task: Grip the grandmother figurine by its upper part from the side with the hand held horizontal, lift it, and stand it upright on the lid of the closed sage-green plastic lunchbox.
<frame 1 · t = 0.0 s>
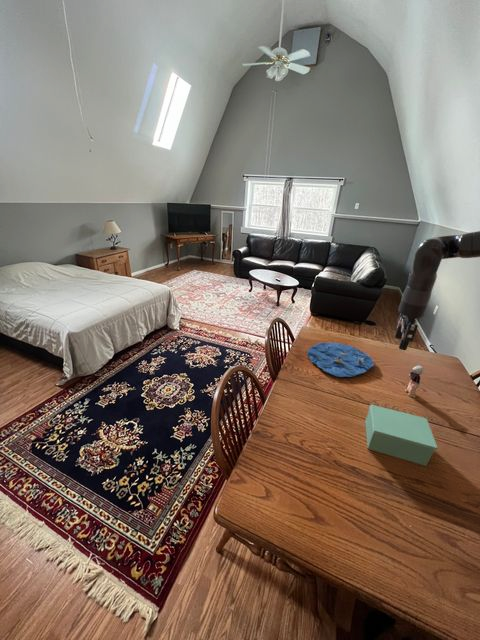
hand: (399, 343, 95), 23 cm above the table, tool pointing down, fingers open, 8 cm apart
lunchbox: (393, 441, 84), on the table
blue sea diorama: (338, 360, 125), on the table
grandmother figurine: (409, 393, 106), on the table
lunchbox lid: (400, 425, 81), point 7 cm above the table, hinge at 0.0°
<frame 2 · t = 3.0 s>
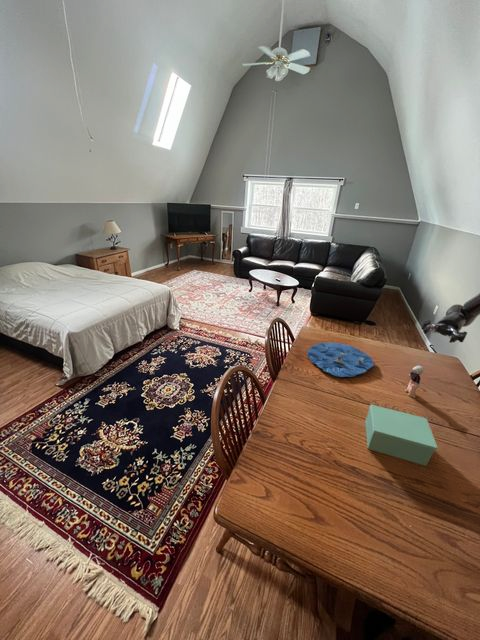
hand: (438, 335, 103), 22 cm above the table, tool horizontal, fingers open, 8 cm apart
nothing on the table moved.
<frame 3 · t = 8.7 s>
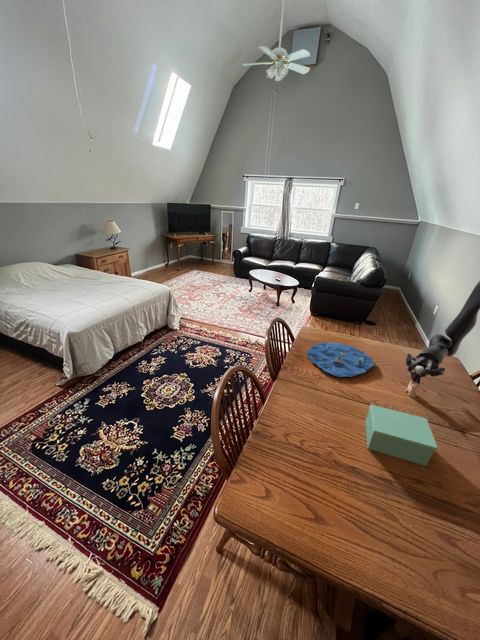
hand: (415, 372, 99), 11 cm above the table, tool horizontal, fingers closed on grandmother figurine, 3 cm apart
grandmother figurine: (409, 393, 106), on the table, touching gripper
everything else where it was.
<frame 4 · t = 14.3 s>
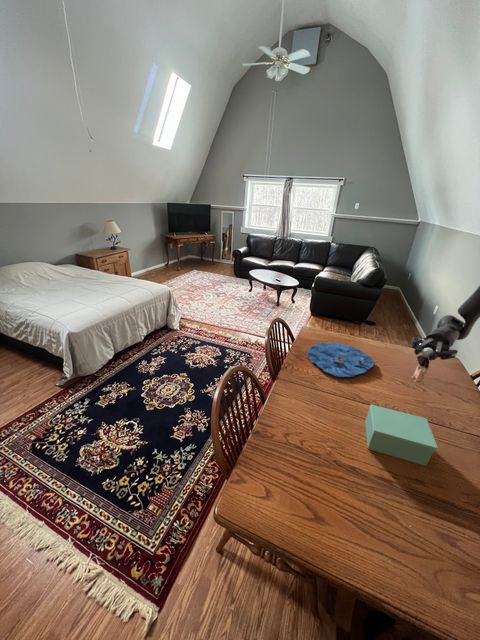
hand: (423, 354, 87), 24 cm above the table, tool horizontal, fingers closed on grandmother figurine, 3 cm apart
grandmother figurine: (416, 379, 93), point 12 cm above the table, touching gripper
everything else where it was.
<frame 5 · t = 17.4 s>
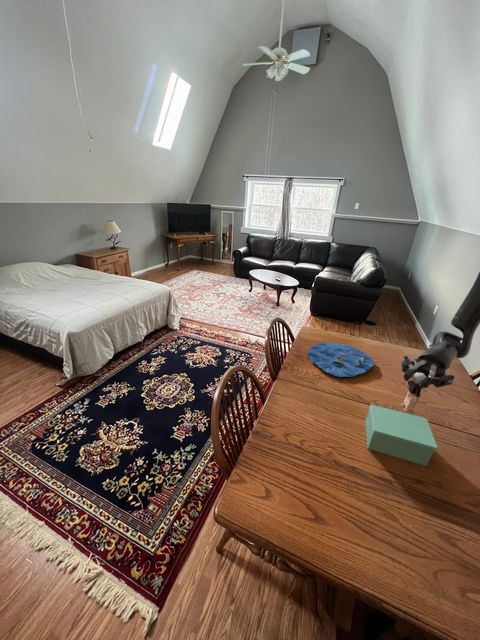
hand: (414, 381, 73), 24 cm above the table, tool horizontal, fingers closed on grandmother figurine, 3 cm apart
grandmother figurine: (406, 408, 80), point 12 cm above the table, touching gripper
everything else where it was.
when the fingers open (19 cm above the table, at t = 19.8 s): grandmother figurine stays where it is, resting on lunchbox lid.
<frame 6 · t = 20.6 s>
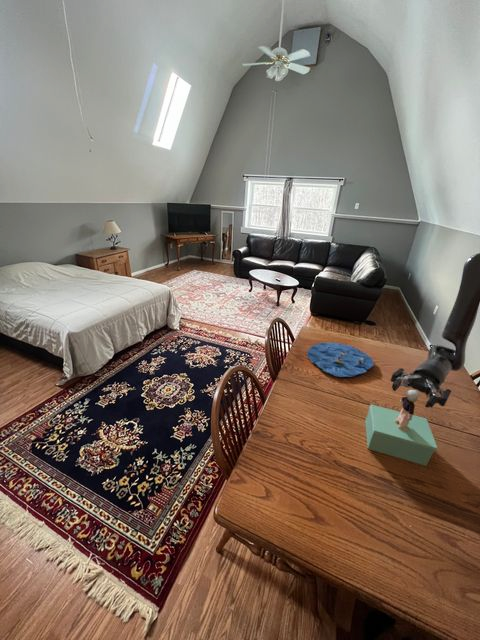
hand: (410, 396, 74), 19 cm above the table, tool horizontal, fingers open, 8 cm apart
grandmother figurine: (400, 424, 81), point 7 cm above the table, touching lunchbox lid
lunchbox lid: (400, 425, 81), point 7 cm above the table, hinge at -0.2°, touching grandmother figurine, lunchbox
everything else where it was.
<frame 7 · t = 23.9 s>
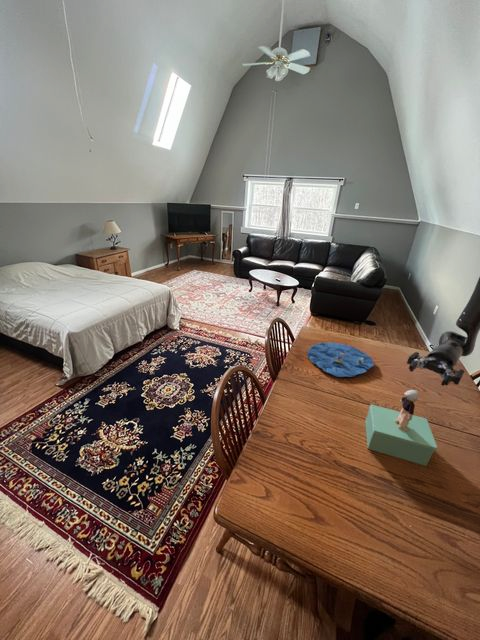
hand: (426, 375, 81), 21 cm above the table, tool horizontal, fingers open, 8 cm apart
nothing on the table moved.
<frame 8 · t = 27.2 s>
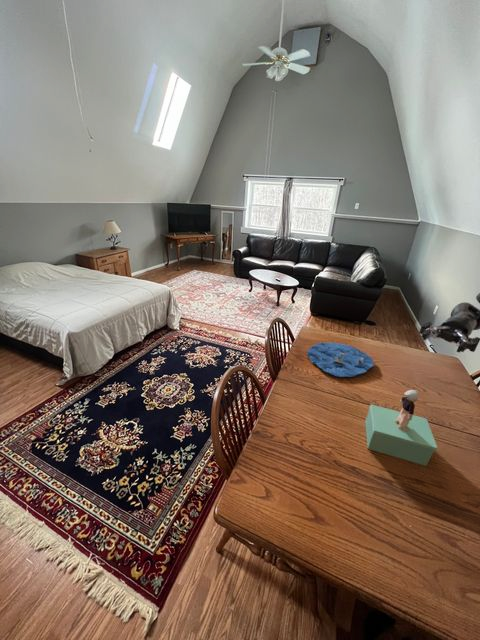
hand: (441, 342, 77), 32 cm above the table, tool horizontal, fingers open, 8 cm apart
nothing on the table moved.
at the end: grandmother figurine inside the target area on the lunchbox (0.1 cm from its centre), point 7.4 cm above the lunchbox's base; grandmother figurine tilted 0°; the gripper is holding nothing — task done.
